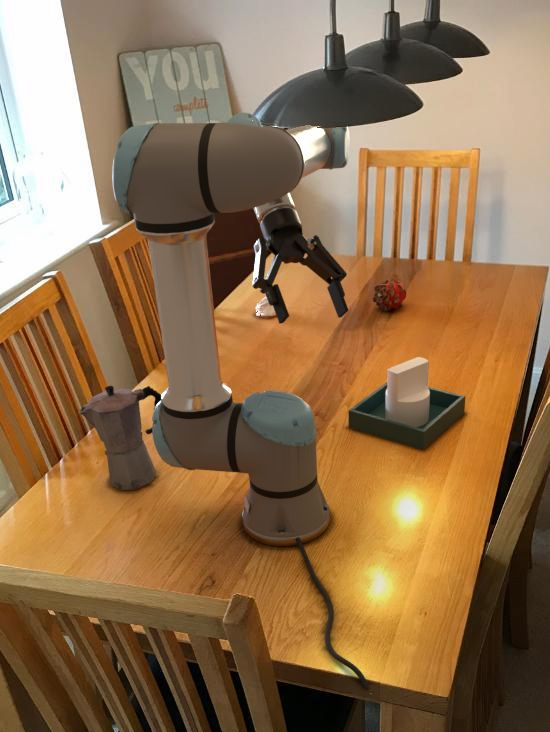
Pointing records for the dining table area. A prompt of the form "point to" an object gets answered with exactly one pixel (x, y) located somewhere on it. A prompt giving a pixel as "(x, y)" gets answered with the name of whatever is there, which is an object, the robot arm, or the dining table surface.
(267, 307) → the white rounded lump
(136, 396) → the moka pot
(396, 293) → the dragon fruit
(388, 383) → the cylinder with rectangular tab
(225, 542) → the dining table surface
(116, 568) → the dining table surface
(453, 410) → the bin
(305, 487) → the robot arm
